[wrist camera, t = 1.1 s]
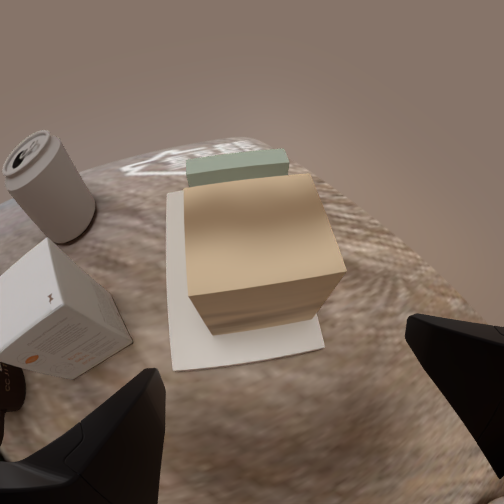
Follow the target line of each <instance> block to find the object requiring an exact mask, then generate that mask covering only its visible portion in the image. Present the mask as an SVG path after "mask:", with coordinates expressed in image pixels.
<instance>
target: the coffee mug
mask: <svg viewBox="0 0 504 504" xmlns="http://www.w3.org/2000/svg"><path fill="white" fill-rule="evenodd" d="M25 393H26V387H25V379H24V375H23V372H22V369H21V368H20V367H16V366H13V365H10V364H6V363H3V362H0V446H1V444H2V440H3V436H4V417H5V413H6V412H10V411H17V410H19V409H20V408H21V407H22V405H23V403H24V400H25Z"/></svg>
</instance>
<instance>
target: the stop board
mask: <svg viewBox="0 0 504 504" xmlns="http://www.w3.org/2000/svg"><path fill="white" fill-rule="evenodd" d="M288 169H289V160H288V158H287V155H286V152H285V150H284V149H270V150H259V151H249V152H239V153H231V154H223V155H215V156H208V157H201V158H195V159H189V160H186V175H187V180H188V184H189V187H195V186H202V185H208V184H215V183H222V182H230V181H238V180H246V179H255V178H264V177H274V176H284V175H288Z"/></svg>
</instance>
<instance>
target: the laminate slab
mask: <svg viewBox="0 0 504 504" xmlns="http://www.w3.org/2000/svg"><path fill="white" fill-rule="evenodd" d="M166 277H167V302H168V320H169V334H170V346H171V357H172V366H173V371H175V372H180V371H192V370H202V369H211V368H220V367H227V366H235V365H242V364H248V363H255V362H261V361H267V360H272V359H278V358H283V357H288V356H293V355H298V354H303V353H307V352H312V351H316V350H320V349H323V348H324V347H325V346H324V341H323V337H322V333H321V329H320V325H319V321H318V317H317V313H316V314H315V316H314V317H313V318H312V319H310V320H306V321H301V322H295V323H290V324H285V325H279V326H274V327H268V328H262V329H256V330H249V331H243V332H236V333H229V334H222V335H214V336H213V335H212V334H211V332H210V331H209V329H208V328H207V326H206V325H205V323H204V321H203V320H202V318H201V317H200V315H199V313H198V312H197V310H196V308H195V307H194V305H193V303H192V302H191V300H190V298H189V297H188V287H187V273H186V255H185V232H184V190H182V191H177V192H171V193H167V209H166Z"/></svg>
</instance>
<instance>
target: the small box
mask: <svg viewBox="0 0 504 504" xmlns="http://www.w3.org/2000/svg"><path fill="white" fill-rule="evenodd" d="M131 343H133V341H132V339H131V337H130V335H129V333H128V331H127V329H126V327H125V325H124V323H123V321H122V319H121V316H120V314H119V312H118V310H117V308H116V305H115V303H114V301H113V299H112V296H111V294H110V293H109V292H108V291H107V290H105V289H104V288H103V287H102V286H101V285H100V284H98V283H97V282H96V281H95V280H94V279H92V278H91V277H90V276H89V275H88V274H87V273H86V272H85V271H83V270H82V269H81V268H80V267H79V266H78V265H77V264H76V263H75V262H73V261H72V260H71V259H70V258H69V257H68V256H67V255H66V254H65V253H64V252H63V251H62V250H61V249H60V248H59V247H58V246H57V245H56V244H54V243H53V242H52V241H51V240H50V239H49V238H48V237H46V238H45V239H44V240H43V241H41V242H40V243H39V244H38V245H36V246H35V247H34V248H33V249H31V250H30V251H29V252H28V253H26V254H25V255H24V256H23V257H22V258H20V259H19V260H18V261H17V262H16V263H15V264H14V265H12V266H11V267H10V268H9V269H8V270H7V271H6V272H4V273H3V274H2V275H1V276H0V362H3V363H6V364H10V365H13V366H16V367H20V368H23V369H27V370H31V371H35V372H38V373H43V374H47V375H51V376H56V377H61V378H66V379H71V380H73V379H75V378H76V377H78V376H79V375H81V374H83V373H84V372H86V371H88V370H89V369H91V368H92V367H94V366H96V365H97V364H99V363H101V362H102V361H104V360H105V359H107V358H109V357H110V356H112V355H113V354H115V353H117V352H118V351H120V350H121V349H123V348H125V347H126V346H128V345H130V344H131Z"/></svg>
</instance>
